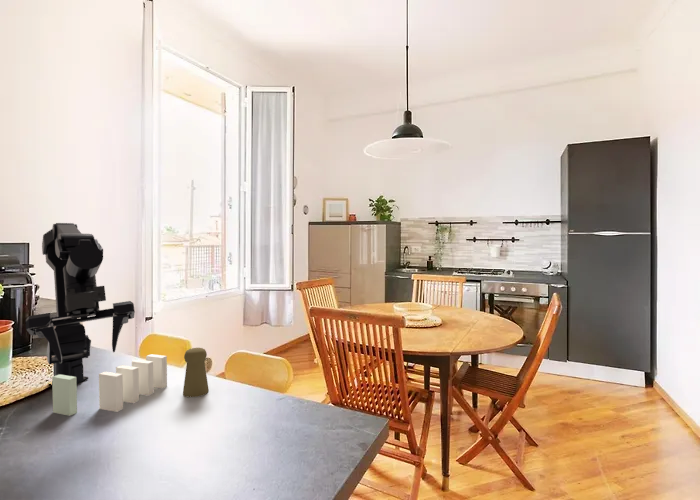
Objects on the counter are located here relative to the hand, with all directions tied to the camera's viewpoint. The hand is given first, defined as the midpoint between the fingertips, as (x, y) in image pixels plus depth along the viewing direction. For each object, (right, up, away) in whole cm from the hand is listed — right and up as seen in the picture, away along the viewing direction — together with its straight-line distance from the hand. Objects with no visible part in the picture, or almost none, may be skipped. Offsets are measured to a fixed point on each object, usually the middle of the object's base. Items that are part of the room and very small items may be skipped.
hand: (88, 357), depth 81 cm
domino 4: (+4, -13, +20) cm, 24 cm away
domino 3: (+3, -13, +16) cm, 21 cm away
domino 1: (0, -14, +7) cm, 15 cm away
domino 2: (+2, -13, +11) cm, 18 cm away
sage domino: (-9, -14, +5) cm, 17 cm away
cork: (+16, -14, +17) cm, 27 cm away
